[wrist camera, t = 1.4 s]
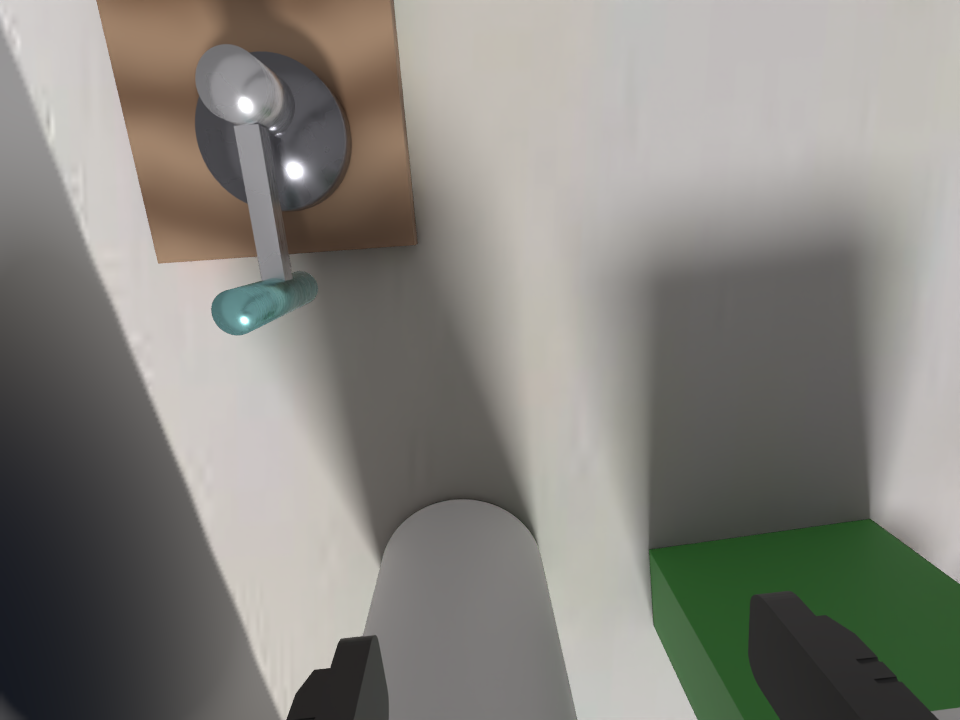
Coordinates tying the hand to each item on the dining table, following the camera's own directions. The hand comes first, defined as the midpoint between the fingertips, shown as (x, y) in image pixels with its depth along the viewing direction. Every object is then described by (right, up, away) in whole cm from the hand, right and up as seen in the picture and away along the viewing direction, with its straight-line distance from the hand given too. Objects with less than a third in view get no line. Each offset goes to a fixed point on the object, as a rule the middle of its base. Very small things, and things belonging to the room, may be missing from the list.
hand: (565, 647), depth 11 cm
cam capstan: (-13, +16, +19) cm, 28 cm away
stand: (-15, +22, +20) cm, 33 cm away
